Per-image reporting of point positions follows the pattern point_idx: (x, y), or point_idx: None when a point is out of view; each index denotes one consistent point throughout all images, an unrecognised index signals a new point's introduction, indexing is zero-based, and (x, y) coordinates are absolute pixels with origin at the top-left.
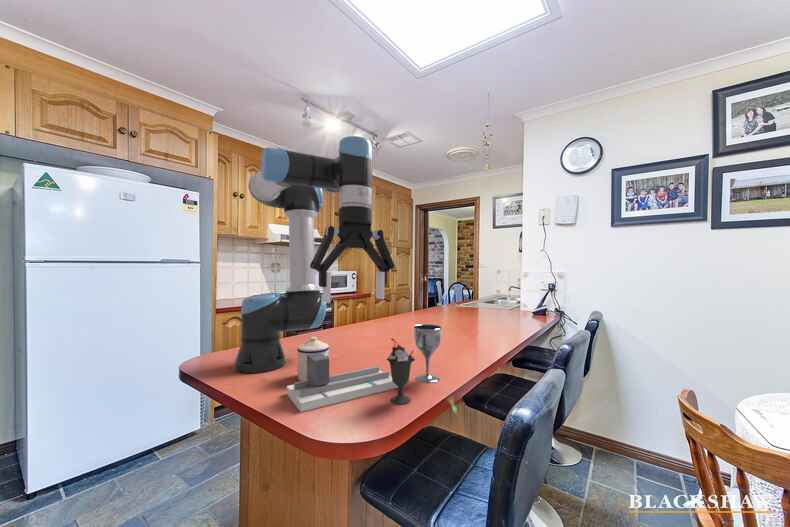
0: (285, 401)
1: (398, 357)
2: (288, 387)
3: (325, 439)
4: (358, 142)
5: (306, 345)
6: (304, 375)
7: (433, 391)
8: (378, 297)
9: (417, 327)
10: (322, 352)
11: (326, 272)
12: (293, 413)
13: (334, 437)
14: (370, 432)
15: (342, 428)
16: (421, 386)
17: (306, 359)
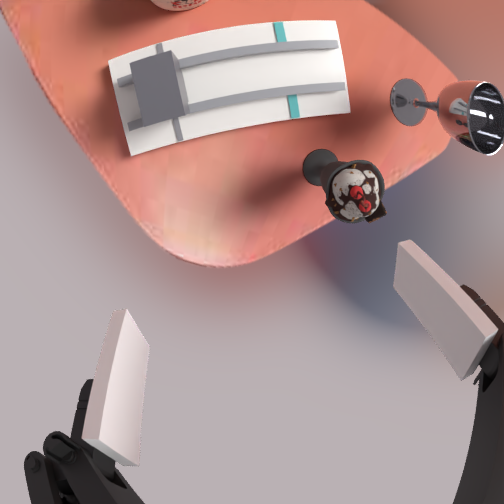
0: (110, 98)
1: (346, 210)
2: (111, 69)
3: (170, 248)
4: None
5: None
6: (154, 1)
7: (387, 159)
8: (399, 266)
9: (479, 82)
10: None
11: (115, 460)
12: (123, 154)
13: (182, 247)
14: (233, 250)
15: (196, 228)
16: (383, 128)
17: None
